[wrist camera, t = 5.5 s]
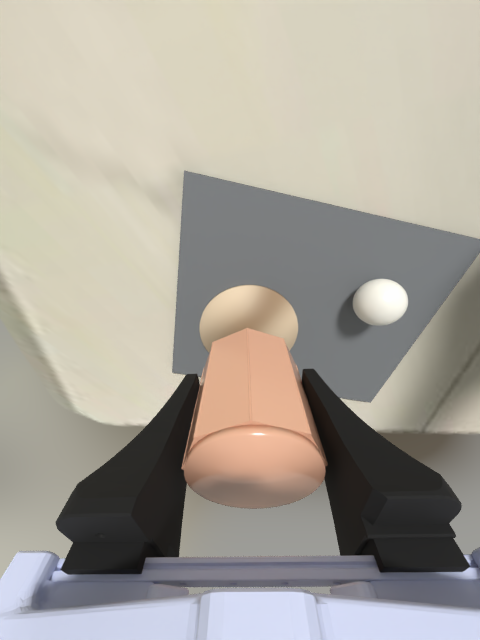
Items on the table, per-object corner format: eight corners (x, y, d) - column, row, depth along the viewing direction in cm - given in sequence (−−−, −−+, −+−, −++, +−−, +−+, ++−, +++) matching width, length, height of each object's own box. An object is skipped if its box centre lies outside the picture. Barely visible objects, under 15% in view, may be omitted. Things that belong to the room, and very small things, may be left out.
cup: (308, 345, 14) (355, 453, 8) (272, 404, 16) (288, 516, 11) (220, 319, 13) (202, 420, 7) (197, 385, 15) (171, 497, 10)
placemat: (482, 240, 15) (488, 241, 15) (368, 399, 23) (370, 402, 22) (185, 171, 13) (184, 170, 13) (173, 369, 21) (172, 372, 21)
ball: (398, 277, 16) (431, 295, 13) (376, 315, 17) (401, 338, 15) (357, 268, 16) (381, 285, 13) (338, 308, 17) (356, 330, 14)
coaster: (311, 295, 17) (312, 297, 16) (281, 373, 21) (281, 375, 20) (206, 275, 16) (205, 276, 16) (195, 359, 20) (194, 361, 20)
